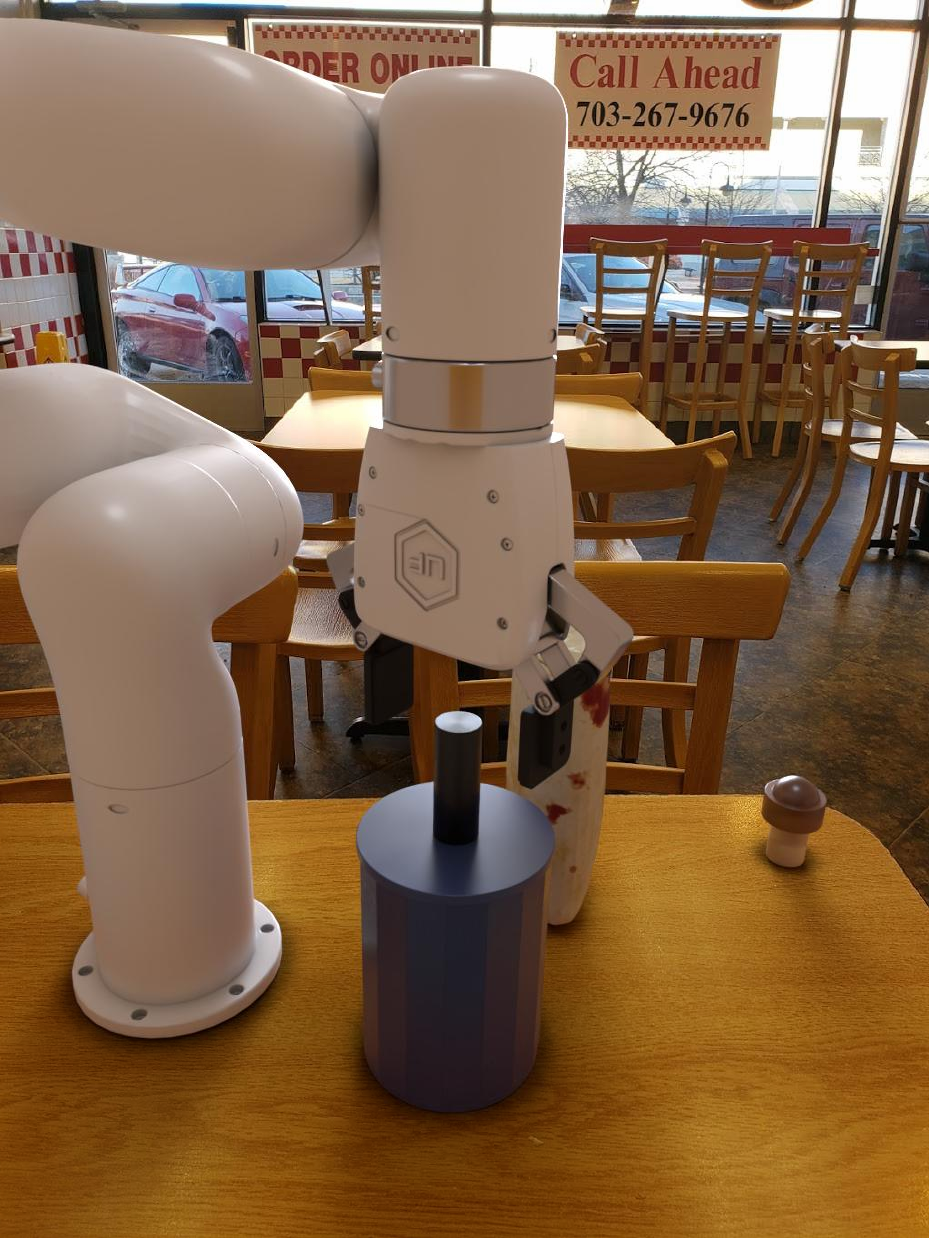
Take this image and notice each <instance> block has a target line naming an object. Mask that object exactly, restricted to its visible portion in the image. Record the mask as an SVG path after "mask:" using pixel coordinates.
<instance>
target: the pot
mask: <svg viewBox="0 0 929 1238" xmlns="http://www.w3.org/2000/svg"><path fill="white" fill-rule="evenodd" d="M551 865H552V863H551ZM551 865H550V867H549V869H548V870H547V871H546V873H545V874H544V875H543V876H542V877H541V878H540V879H539V880H538V881H537V882H536V883H535V884H533V885H532V886H531V887H529V888H528V889H526V890H524V891H522V892H520V893H518V894H516V895H513V896H511V897H509V898H506V899H502V900H499V901H495V902H490V903H485V904H479V905H469V906H448V905H437V904H430V903H425V902H421V901H417V900H413V899H410V898H407V897H404V896H401V895H399V894H397V893H395V892H392V891H390V890H388V889H387V888H385V887H384V886H382V885H380V884H379V883H378V882H377V881H375V880H374V879H373V878H372V877H371V876H370V875H369V874H368V873H367V872H366V871H365V869H364V868H363V866H362V864H361V863H360V862H359V870H360V871H359V872H360V873H359V878H360V923H361V926H360V927H361V928H360V929H361V930H360V931H361V975H362V978H361V980H362V981H361V983H362V1022H363V1023H362V1026H363V1029H362V1030H363V1053H364V1057H365V1060H366V1063H367V1065H368V1067H369V1070H370V1072H371V1073H372V1075H373V1076H374V1077H375V1079H376V1081H377V1082H378V1083H379V1084H380V1085H381V1086H382V1087H383V1088H384V1089H385V1090H386V1091H387V1092H389V1093H390V1094H391V1095H393V1097H395V1098H397V1099H398V1100H400V1101H402V1102H404V1103H406V1104H408V1105H410V1106H413V1107H415V1108H419V1109H423V1110H425V1111H426V1110H427V1111H431V1112H436V1113H448V1114H450V1113H451V1114H452V1113H454V1114H455V1113H466V1112H473V1111H477V1110H480V1109H485V1108H487V1107H489V1106H492V1105H494V1104H497V1103H498V1102H500V1101H502V1100H504V1099H506V1098H508V1097H509V1096H510V1095H512V1093H514V1092H515V1091H516V1090H517V1089H518V1088H519V1087H521V1086H522V1084H523V1083H524V1082H525V1081H526V1079H527V1078H528V1076H529V1075H530V1073H531V1072H532V1070H533V1067H534V1065H535V1062H536V1060H537V1055H538V1054H537V1053H538V1046H539V1042H540V1038H541V1037H540V1036H541V1023H542V1022H541V1021H542V1008H543V1007H542V1006H543V994H544V980H545V979H544V978H545V964H546V952H547V951H546V950H547V936H548V924H549V923H548V908H549V894H550V879H551Z"/></svg>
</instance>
